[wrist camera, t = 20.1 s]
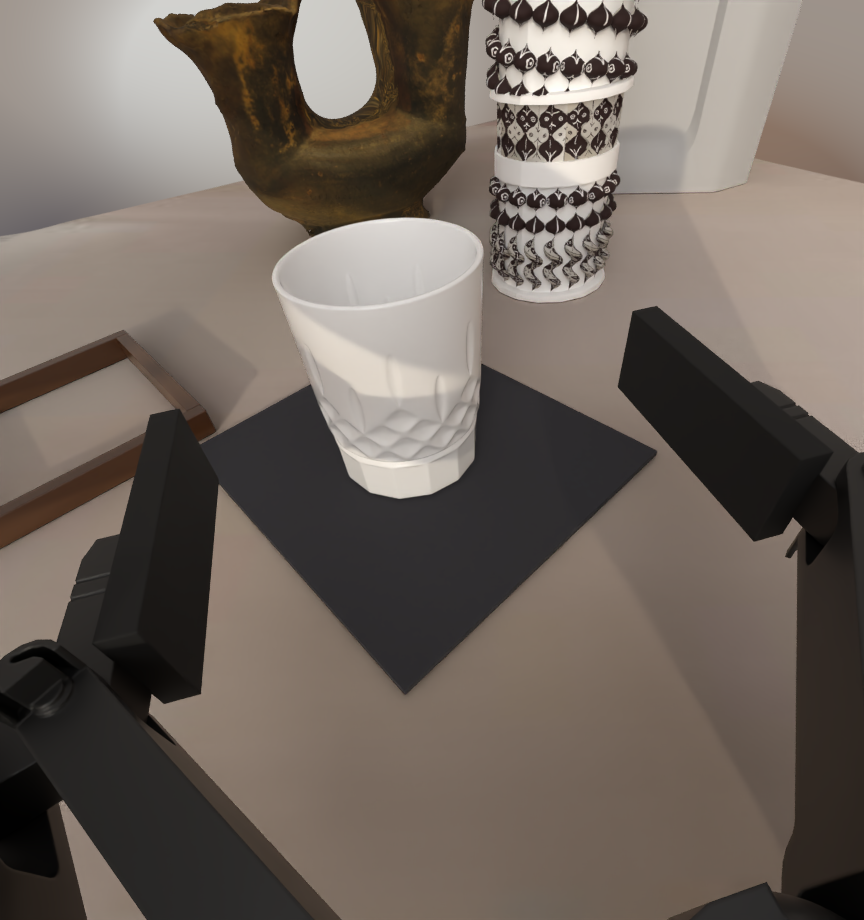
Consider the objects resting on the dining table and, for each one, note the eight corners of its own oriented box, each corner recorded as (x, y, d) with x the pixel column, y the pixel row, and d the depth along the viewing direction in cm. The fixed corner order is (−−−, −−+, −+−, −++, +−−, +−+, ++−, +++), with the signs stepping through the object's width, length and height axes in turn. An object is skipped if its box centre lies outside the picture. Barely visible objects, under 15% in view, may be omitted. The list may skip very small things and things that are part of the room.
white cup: (514, 479, 24) (520, 272, 17) (351, 532, 23) (285, 331, 16) (455, 388, 29) (440, 203, 22) (321, 426, 28) (261, 242, 21)
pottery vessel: (263, 289, 42) (146, -52, 28) (227, 250, 49) (120, -39, 35) (506, 207, 50) (508, -88, 36) (445, 184, 57) (428, -71, 43)
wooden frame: (-88, 445, 31) (-110, 425, 30) (134, 349, 37) (123, 329, 36) (-59, 581, 23) (-87, 561, 22) (217, 431, 29) (206, 409, 28)
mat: (192, 453, 28) (190, 449, 28) (412, 332, 35) (411, 328, 35) (405, 695, 18) (404, 692, 17) (656, 455, 25) (657, 450, 24)
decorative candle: (632, 265, 39) (739, -314, 22) (570, 318, 34) (642, -366, 17) (529, 243, 44) (549, -248, 26) (462, 286, 39) (433, -274, 22)
